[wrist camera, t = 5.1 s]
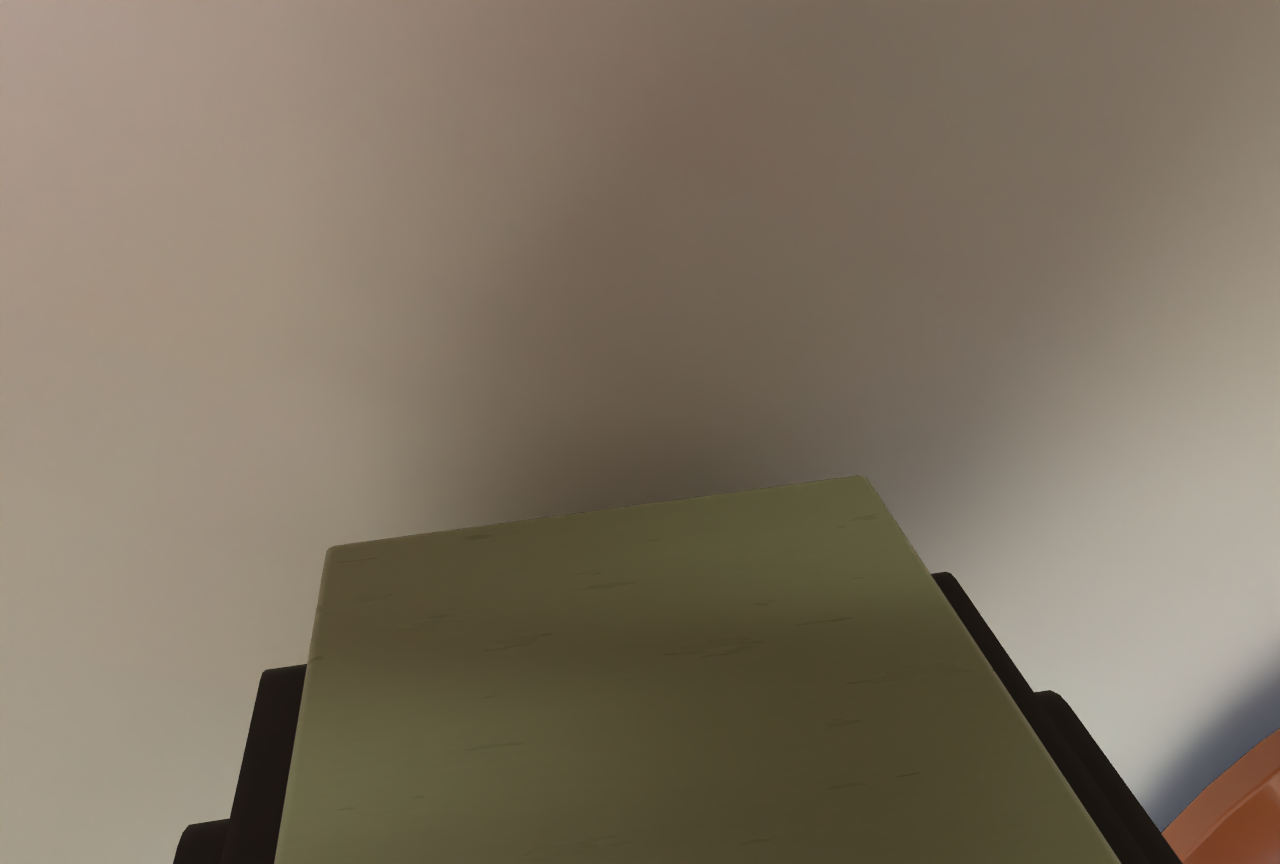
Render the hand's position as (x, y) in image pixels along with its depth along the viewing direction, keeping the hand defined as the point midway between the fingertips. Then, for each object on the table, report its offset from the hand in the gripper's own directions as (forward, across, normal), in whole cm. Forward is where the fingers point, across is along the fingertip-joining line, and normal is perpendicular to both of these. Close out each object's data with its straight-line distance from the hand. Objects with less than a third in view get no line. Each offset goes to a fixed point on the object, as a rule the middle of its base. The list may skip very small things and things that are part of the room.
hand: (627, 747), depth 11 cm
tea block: (0, 0, 0) cm, 0 cm away
